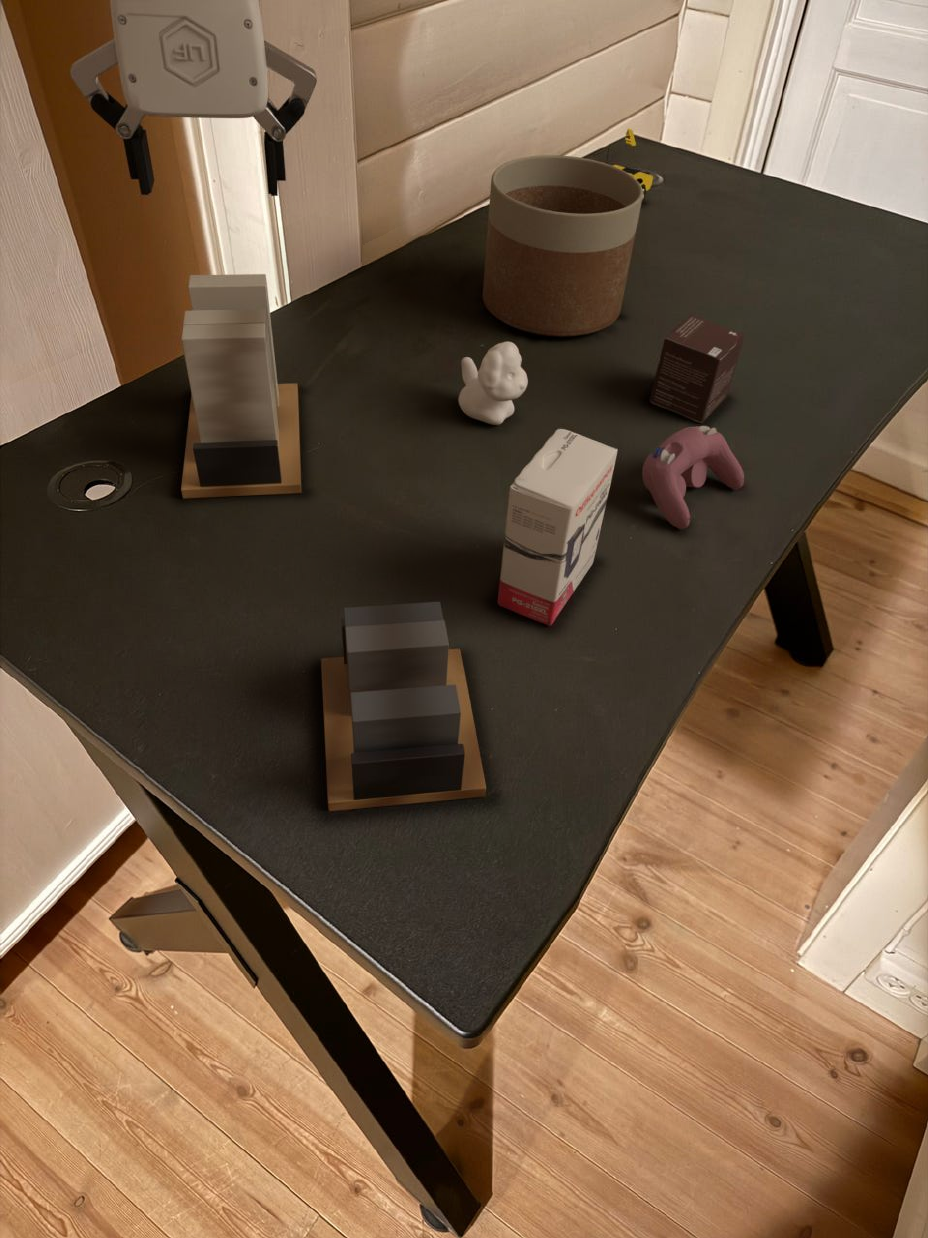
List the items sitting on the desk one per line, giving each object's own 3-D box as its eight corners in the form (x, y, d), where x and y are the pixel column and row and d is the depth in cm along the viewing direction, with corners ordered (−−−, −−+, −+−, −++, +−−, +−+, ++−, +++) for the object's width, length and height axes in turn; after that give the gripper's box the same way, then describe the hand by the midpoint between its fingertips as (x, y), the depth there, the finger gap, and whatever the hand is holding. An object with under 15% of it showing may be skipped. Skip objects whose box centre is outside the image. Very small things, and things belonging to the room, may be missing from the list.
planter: (586, 269, 111) (604, 150, 101) (643, 333, 101) (670, 207, 91) (463, 281, 107) (470, 159, 97) (510, 349, 97) (523, 220, 87)
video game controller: (706, 483, 85) (695, 411, 82) (749, 486, 82) (739, 412, 79) (642, 528, 80) (628, 454, 77) (685, 533, 77) (672, 456, 74)
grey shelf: (328, 811, 57) (321, 741, 51) (321, 667, 65) (314, 593, 60) (485, 796, 58) (494, 726, 53) (459, 657, 66) (465, 583, 61)
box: (674, 378, 95) (691, 312, 90) (727, 399, 93) (747, 333, 87) (647, 403, 91) (663, 336, 86) (701, 425, 89) (721, 358, 84)
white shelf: (182, 498, 77) (153, 362, 68) (193, 395, 88) (169, 264, 78) (301, 493, 78) (288, 358, 69) (298, 391, 89) (286, 263, 80)
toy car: (616, 224, 121) (628, 159, 115) (566, 208, 124) (575, 143, 118) (656, 198, 128) (669, 134, 122) (608, 183, 131) (618, 120, 125)
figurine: (503, 441, 85) (511, 366, 80) (436, 411, 88) (439, 335, 82) (534, 416, 88) (544, 342, 83) (468, 388, 91) (473, 314, 86)
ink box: (552, 629, 69) (574, 508, 60) (494, 604, 70) (507, 483, 62) (595, 564, 74) (621, 444, 66) (540, 542, 76) (558, 423, 67)
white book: (209, 409, 85) (188, 286, 76) (210, 396, 86) (189, 274, 77) (278, 406, 86) (265, 285, 77) (278, 394, 87) (265, 273, 78)
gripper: (25, -79, 55) (90, 207, 68) (310, -65, 58) (323, 208, 70) (46, -100, 61) (103, 169, 73) (307, -86, 63) (320, 172, 75)
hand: (211, 188), depth 71 cm, fingers open, 9 cm apart
